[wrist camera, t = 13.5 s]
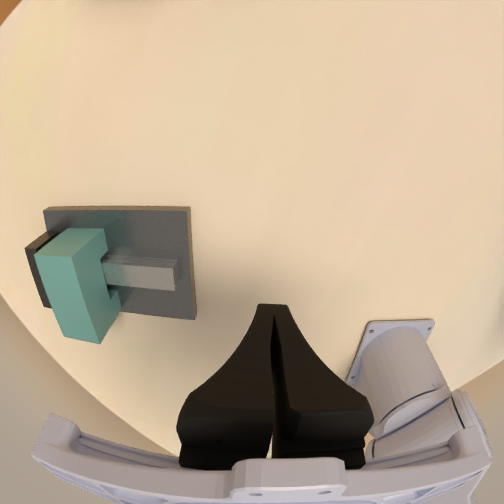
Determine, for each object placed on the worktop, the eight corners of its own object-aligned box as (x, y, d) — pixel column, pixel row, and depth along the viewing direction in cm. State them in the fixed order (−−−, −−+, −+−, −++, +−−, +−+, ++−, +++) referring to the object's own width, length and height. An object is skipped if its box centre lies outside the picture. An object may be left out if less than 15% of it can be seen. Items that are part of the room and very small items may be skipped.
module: (103, 228, 21) (71, 257, 17) (121, 308, 25) (100, 344, 21) (67, 228, 22) (33, 254, 17) (87, 303, 25) (64, 336, 21)
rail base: (190, 206, 21) (173, 230, 17) (196, 313, 26) (186, 347, 22) (49, 206, 22) (18, 225, 18) (71, 297, 26) (50, 323, 22)
